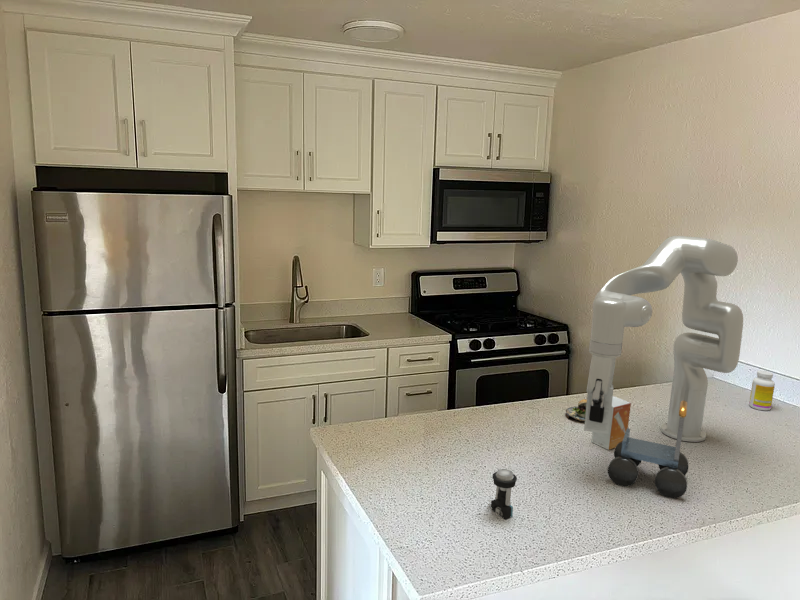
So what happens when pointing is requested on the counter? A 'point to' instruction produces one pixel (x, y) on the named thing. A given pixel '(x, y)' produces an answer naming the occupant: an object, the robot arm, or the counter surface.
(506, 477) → the push button
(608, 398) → the skincare box
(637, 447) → the trolley
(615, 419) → the small box
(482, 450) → the counter surface
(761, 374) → the supplement bottle
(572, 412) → the burger
